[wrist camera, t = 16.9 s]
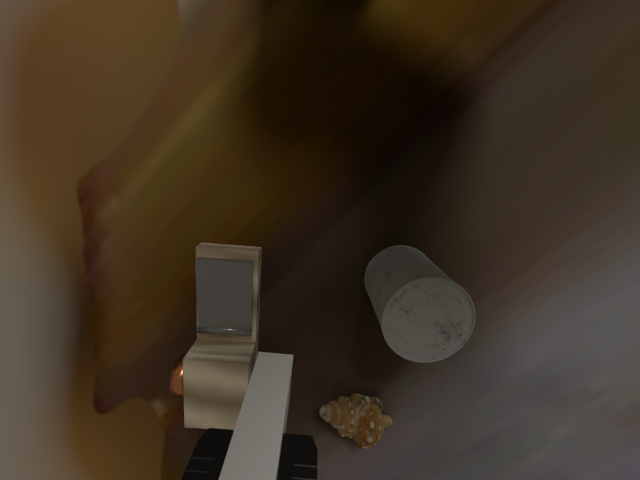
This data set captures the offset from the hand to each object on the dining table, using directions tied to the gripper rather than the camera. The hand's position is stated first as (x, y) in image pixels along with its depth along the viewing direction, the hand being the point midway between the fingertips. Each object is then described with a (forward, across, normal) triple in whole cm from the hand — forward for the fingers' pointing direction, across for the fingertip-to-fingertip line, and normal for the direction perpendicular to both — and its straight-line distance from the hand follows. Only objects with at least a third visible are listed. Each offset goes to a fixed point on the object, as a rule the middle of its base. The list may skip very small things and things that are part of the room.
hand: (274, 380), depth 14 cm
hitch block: (+29, -9, -15) cm, 34 cm away
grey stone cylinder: (+30, +13, -6) cm, 33 cm away
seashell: (+29, +10, -27) cm, 41 cm away
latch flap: (+27, -9, -10) cm, 30 cm away
